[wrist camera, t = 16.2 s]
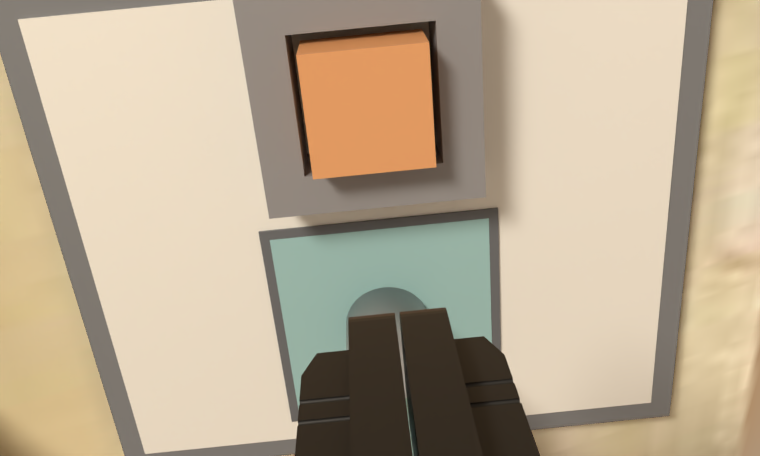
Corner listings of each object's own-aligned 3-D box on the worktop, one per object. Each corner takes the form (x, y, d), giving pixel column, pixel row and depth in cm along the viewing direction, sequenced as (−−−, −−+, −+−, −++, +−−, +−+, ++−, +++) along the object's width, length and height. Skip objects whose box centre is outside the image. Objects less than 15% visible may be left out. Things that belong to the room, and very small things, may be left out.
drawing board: (659, 400, 36) (692, 453, 33) (135, 453, 36) (113, 513, 32) (706, -81, 27) (760, -76, 23) (-4, -12, 26) (-56, 3, 23)
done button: (428, 144, 27) (436, 167, 25) (315, 155, 27) (313, 179, 25) (421, 28, 25) (429, 42, 23) (299, 40, 25) (296, 55, 23)
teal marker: (430, 354, 32) (463, 532, 23) (350, 361, 32) (351, 543, 23) (426, 283, 31) (460, 445, 22) (342, 290, 31) (340, 455, 22)
